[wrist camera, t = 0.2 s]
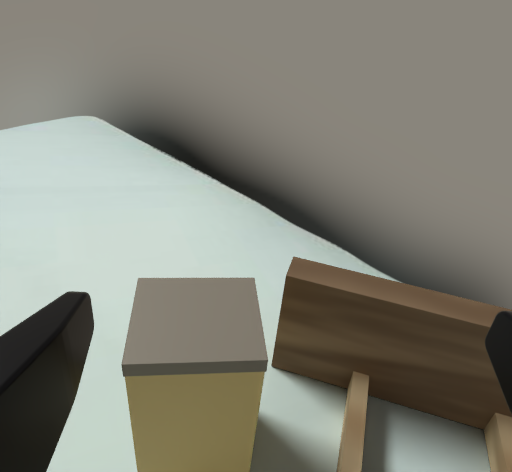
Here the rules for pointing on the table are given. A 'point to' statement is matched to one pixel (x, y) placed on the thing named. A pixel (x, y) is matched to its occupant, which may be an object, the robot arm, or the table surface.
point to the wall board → (392, 352)
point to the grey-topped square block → (194, 373)
